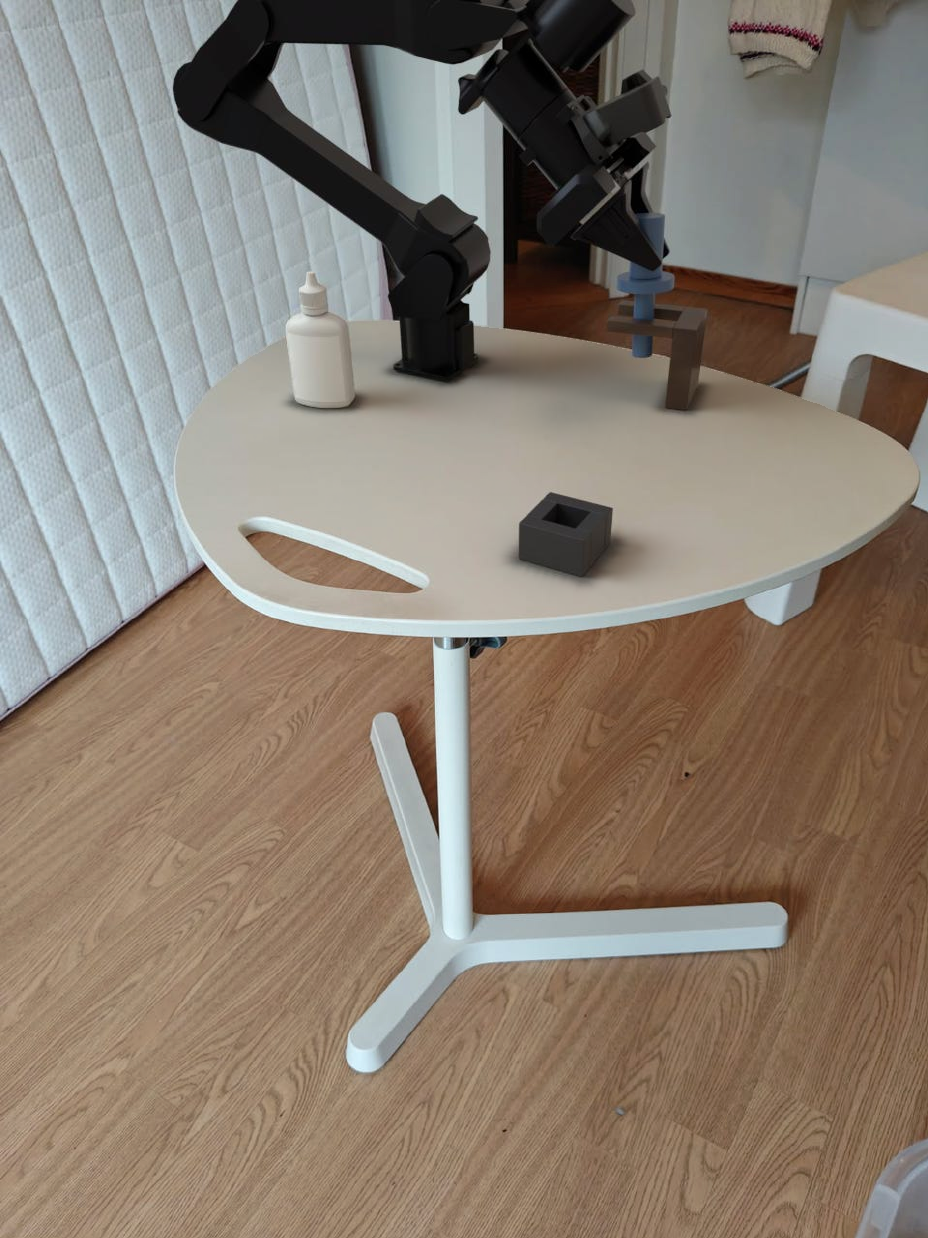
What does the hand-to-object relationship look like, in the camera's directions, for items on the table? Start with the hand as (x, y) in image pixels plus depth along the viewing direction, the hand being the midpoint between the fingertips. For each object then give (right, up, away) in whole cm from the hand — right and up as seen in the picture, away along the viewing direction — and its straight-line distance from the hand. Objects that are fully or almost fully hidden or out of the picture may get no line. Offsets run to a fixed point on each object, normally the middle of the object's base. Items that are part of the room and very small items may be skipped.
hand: (661, 261), depth 85 cm
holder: (-10, -26, -14) cm, 31 cm away
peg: (-1, -7, +5) cm, 8 cm away
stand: (+1, -10, +7) cm, 12 cm away
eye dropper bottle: (-30, -10, +8) cm, 33 cm away
